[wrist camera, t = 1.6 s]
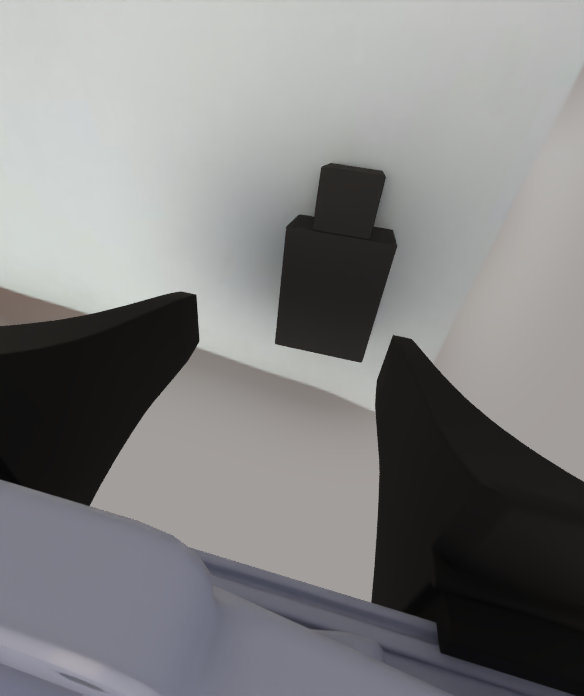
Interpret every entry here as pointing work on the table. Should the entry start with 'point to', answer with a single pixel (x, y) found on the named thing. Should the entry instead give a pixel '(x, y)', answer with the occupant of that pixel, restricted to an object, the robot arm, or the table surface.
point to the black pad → (335, 266)
